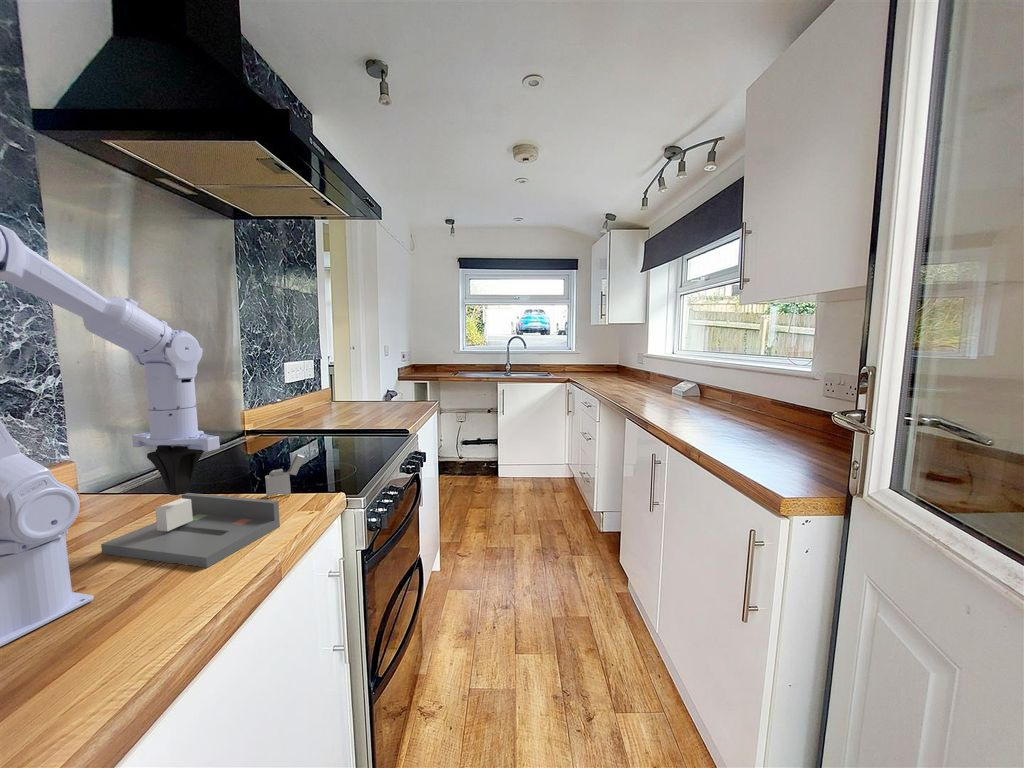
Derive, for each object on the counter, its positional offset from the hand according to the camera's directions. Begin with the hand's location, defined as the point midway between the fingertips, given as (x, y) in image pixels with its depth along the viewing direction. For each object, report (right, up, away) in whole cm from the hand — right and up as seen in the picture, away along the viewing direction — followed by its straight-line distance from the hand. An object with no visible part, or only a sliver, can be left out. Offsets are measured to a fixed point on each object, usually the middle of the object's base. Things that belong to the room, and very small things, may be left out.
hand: (179, 493), depth 63 cm
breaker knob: (-1, -5, +1) cm, 6 cm away
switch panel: (+2, -7, 0) cm, 8 cm away
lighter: (+6, -6, +20) cm, 22 cm away
